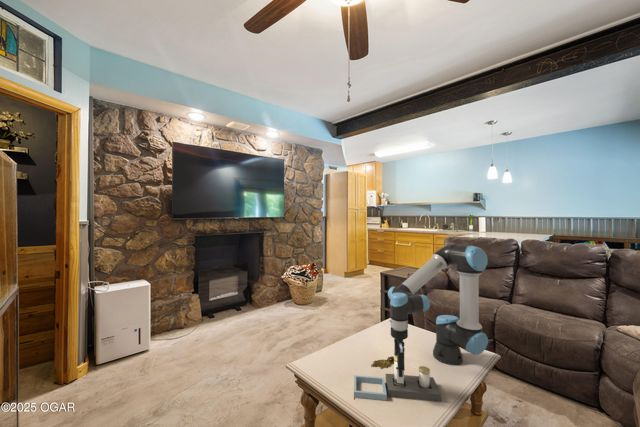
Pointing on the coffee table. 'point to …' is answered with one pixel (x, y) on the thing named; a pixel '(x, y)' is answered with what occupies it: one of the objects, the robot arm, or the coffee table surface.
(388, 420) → the coffee table surface
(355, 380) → the parts tray
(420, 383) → the fuse
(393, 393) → the fuse holder
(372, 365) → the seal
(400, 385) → the cylinder
